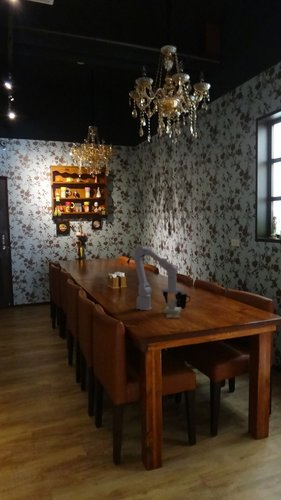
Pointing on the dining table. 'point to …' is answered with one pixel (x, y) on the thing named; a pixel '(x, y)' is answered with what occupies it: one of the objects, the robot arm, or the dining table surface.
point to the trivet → (172, 316)
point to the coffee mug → (182, 300)
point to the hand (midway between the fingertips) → (172, 303)
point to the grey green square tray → (176, 311)
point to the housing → (172, 304)
